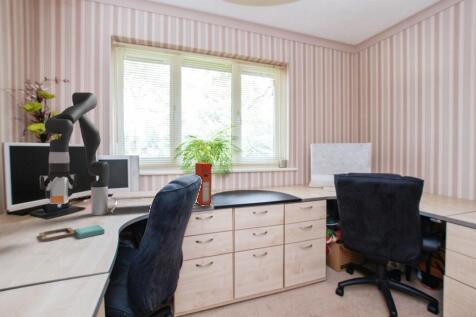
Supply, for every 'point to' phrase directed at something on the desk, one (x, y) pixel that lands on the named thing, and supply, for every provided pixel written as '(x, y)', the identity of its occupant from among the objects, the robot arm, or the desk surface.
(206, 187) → the file binder
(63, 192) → the skincare box
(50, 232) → the wooden square frame
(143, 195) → the monitor stand
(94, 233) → the tile
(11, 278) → the desk surface
